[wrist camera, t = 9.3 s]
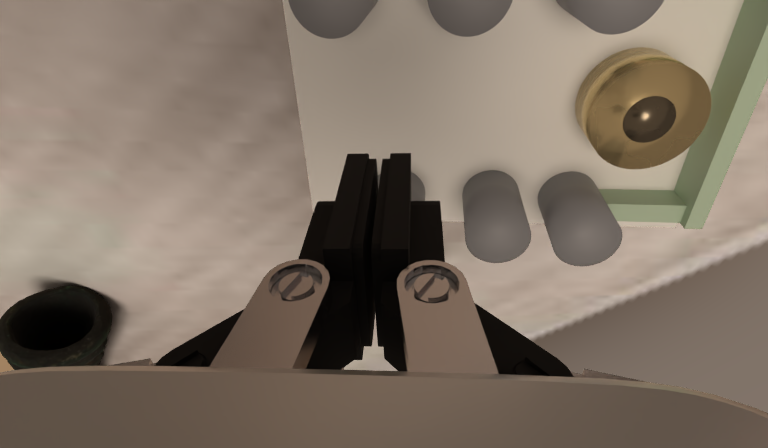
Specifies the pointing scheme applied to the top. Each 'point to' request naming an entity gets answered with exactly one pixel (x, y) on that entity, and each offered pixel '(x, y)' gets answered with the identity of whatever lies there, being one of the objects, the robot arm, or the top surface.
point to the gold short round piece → (642, 108)
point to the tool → (56, 329)
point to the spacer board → (517, 109)
